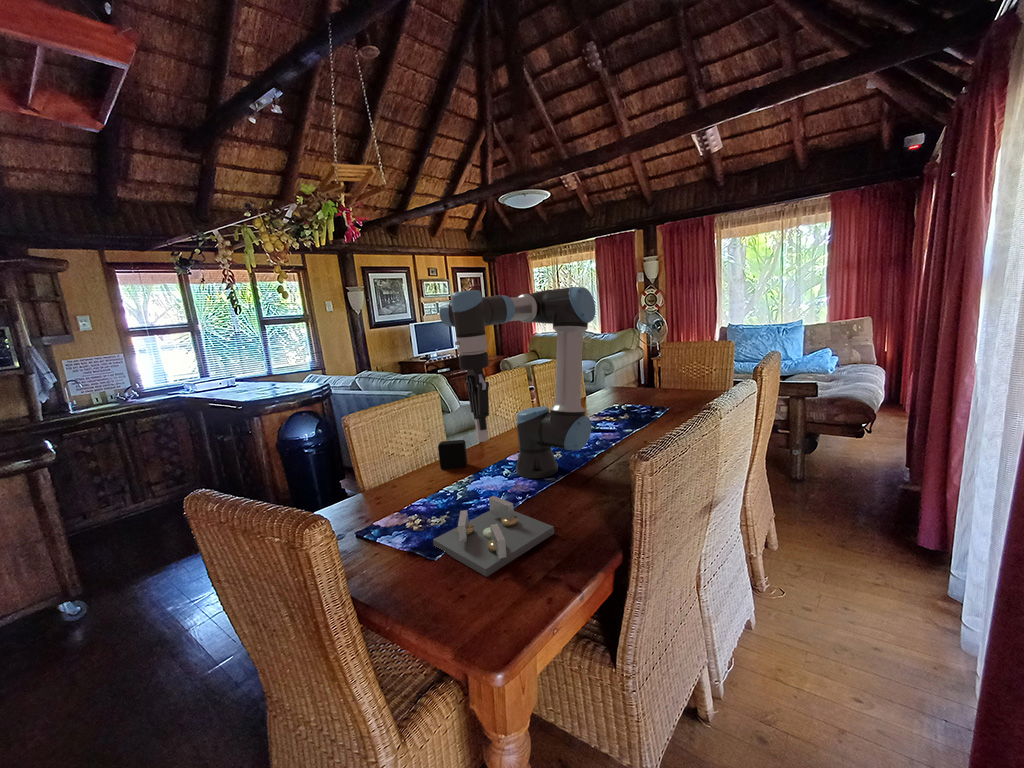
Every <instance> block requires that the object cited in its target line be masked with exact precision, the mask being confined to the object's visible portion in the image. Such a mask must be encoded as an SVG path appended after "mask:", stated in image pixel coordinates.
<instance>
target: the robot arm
mask: <svg viewBox="0 0 1024 768" xmlns="http://www.w3.org/2000/svg"><path fill="white" fill-rule="evenodd" d="M438 313H439V318H440V319H439V320H440V321H441V323H442V324H443V325H444V326H447V327H454V330H455V331H454V332H455V339H456V341H455V342H454V345H455V346H457V347H456V348H457V352H458V353H459V354H458V362H459V364H458V365H459V369H461V370H463V371H466V375H465V376H464V381H465V385H466V391H467V395H468V399H469V400H468V401H469V405H470V406H469V407H470V412H471V413H472V414H473V418H474V424H475V433H476V439H477V442H478V443H482V442H486V441H490V440H489V439H490V438H489V431H488V429H489V428H488V422H487V420H488V419H487V417H490V406H489V403H490V402H489V389H490V382H489V381H486V374H484V373H485V372H484V370H483V369H485V368H487V367H489V365H490V362H489V353H488V352H487V350H488V341H487V334H486V327H488V326H494V325H504V324H505V323H509V322H515V321H520V322H522V323H534V324H535V323H536V324H537V323H538V324H545V325H546V324H549V325H552V329H553V330H554V331H555V333H556V356H555V357H556V360H555V361H556V363H555V389H554V390H555V396H554V397H555V398H554V404H553V406H552V407H550V409H549V407H548V406H536V407H531V408H526V409H522V410H521V411H518V413H517V414H516V428H517V436H518V437H517V439H518V440H517V441H518V451H519V452H518V457H517V462H516V465H515V471H516V474H517V476H520V477H521V478H527V479H543V478H547V477H550V476H553V475H554V474H557V472H558V470H559V466H558V461H557V460H556V457H555V454H554V451H553V450H552V448H556V449H557V448H558V449H561V450H562V449H563V450H567V451H580V450H581V449H583V448H584V447H585V446H586V445H587V444H588V442H589V440H590V438H591V434H592V422H591V419H590V417H588V416H586V409H585V408H584V407H583V406H582V404H581V403H582V401H581V400H582V379H583V378H582V373H583V371H582V370H583V369H582V368H583V345H584V344H583V342H584V340H583V339H584V333H586V331H587V330H588V327H589V324H590V323H591V322H593V321H594V319H595V316H596V303H595V300H594V297H593V295H592V293H591V292H590V290H589V289H587V288H586V287H583V286H570V287H563V288H554V289H546V290H540V291H536V292H531V293H524V294H523V293H522V294H520V295H518V296H517V297H509V296H507V295H500V294H498V295H492V296H482V292H481V290H479V289H477V290H476V289H474V290H463V291H462V290H460V291H455V292H453V293H452V294H451V299H450V300H445V301H443V302H442V304H441V305H440V306H439V312H438Z"/></svg>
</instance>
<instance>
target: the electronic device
mask: <svg viewBox="0 0 1024 768" xmlns="http://www.w3.org/2000/svg"><path fill="white" fill-rule="evenodd" d="M437 449H438V450H437V451H438V458H439V459H438V460H439V466H440V469H441V470H453V469H454V470H455V469H465V468H466V467H467V465H468V453H467V447H466V441H465V440H464V439H458V440H457V439H456V440H455V439H454V440H442V441H440V442H438V445H437Z"/></svg>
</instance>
